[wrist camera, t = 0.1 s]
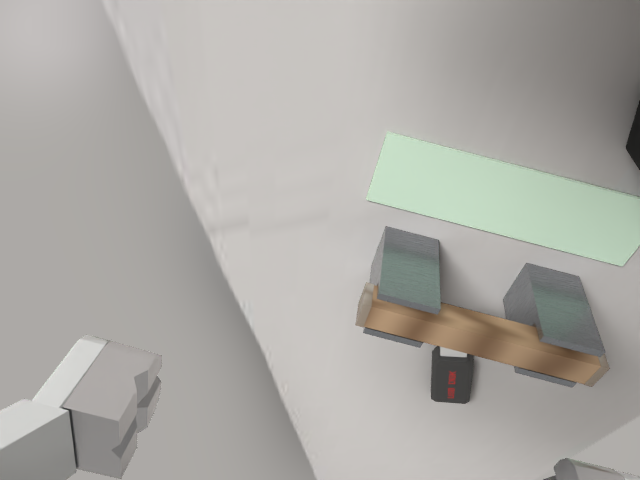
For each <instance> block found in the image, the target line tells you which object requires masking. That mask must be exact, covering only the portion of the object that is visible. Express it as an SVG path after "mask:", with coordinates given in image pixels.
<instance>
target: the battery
mask: <svg viewBox="0 0 640 480" xmlns="http://www.w3.org/2000/svg"><path fill="white" fill-rule="evenodd" d="M626 149H627V151H628V153H629V154H630V156H631V157H632V159H633V160H634V162H635V163H636V165H637V167H638V168H639V170H640V101H639V104H638V108H637V111H636V115H635V118H634V121H633V125H632V128H631V131H630V135H629V138H628V141H627V145H626Z"/></svg>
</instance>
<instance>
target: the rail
mask: <svg viewBox="0 0 640 480" xmlns="http://www.w3.org/2000/svg"><path fill="white" fill-rule="evenodd" d="M377 291H378V286H376V285H374V284H371V283H367V282H366V284H365V287H364V290H363V292H362V295H361V298H360V301H359V304H358V311H357V318H356V325H357V326H360V327H367V328H371V329H375V330H379V331H382V332H386V333H390V334H394V335H398V336H402V337H405V338H409V339H413V340H417V341H421V342H425V343H428V344H432V345H436V346H440V347H444V348H448V349H451V350H455V351H459V352H463V353H467V354H471V355H475V356H478V357H482V358H486V359H490V360H494V361H498V362H501V363H505V364H509V365H513V366H517V367H521V368H524V369H528V370H532V371H536V372H540V373H544V374H547V375H551V376H555V377H559V378H563V379H567V380H570V381H574V382H578V383H582V384H584V385H587V386H591V387H592V386H593V385H594V384H595V383H596V382H597V381H598V380H599V379H600V378H601V377H602V376H603V375H604V374H605V373H606V372H607V371H608V370H609V369H610V368H609V366H608V363H607V360H606V357H605V354H603V355H602V356H601V357H598V356H594V355H590V354H586V353H583V352H579V351H575V350H571V349H567V348H563V347H560V346H556V345H552V344H548V343H544V342H540V341H539V337H538V332H537V328H536V327H533V326H529V325H526V324H522V323H518V322H514V321H510V320H506V319H503V318H499V317H495V316H491V315H487V314H483V313H480V312H476V311H472V310H468V309H464V308H460V307H456V306H453V305H449V304H445V303H441V302H440V304H441V310H440V311H439V313H438V315H437V314H433V313H429V312H425V311H421V310H418V309H414V308H410V307H406V306H402V305H398V304H395V303H391V302H387V301H383V300H379V299H377Z"/></svg>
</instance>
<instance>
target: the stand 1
mask: <svg viewBox="0 0 640 480" xmlns="http://www.w3.org/2000/svg"><path fill="white" fill-rule="evenodd" d="M370 283H371V284H374V285H376V286H378V291H377V299H379V300H383V301H387V302H391V303H395V304H398V305H402V306H406V307H410V308H414V309H418V310H421V311H425V312H429V313H433V314H437V315H438V313H439V311H440V310H441V304H440V272H439V240H437V239H433V238H429V237H425V236H421V235H417V234H414V233H410V232H406V231H402V230H398V229H394V228H391V227H387V226H386V227H385V230H384V233H383V235H382V238H381V241H380V244H379V246H378V249H377V252H376V255H375V257H374V260H373V263H372V267H371V275H370ZM363 333H365V334H369V335H373V336H377V337H381V338H385V339H388V340H392V341H396V342H400V343H404V344H408V345H411V346H415V347H419V348H420V347H421V345H422V343H423V342H421V341H417V340H413V339H409V338H405V337H402V336H398V335H394V334H390V333H386V332H382V331H379V330H375V329H371V328H367V327H364V330H363Z"/></svg>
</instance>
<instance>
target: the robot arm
mask: <svg viewBox="0 0 640 480" xmlns="http://www.w3.org/2000/svg"><path fill="white" fill-rule="evenodd" d="M161 367H162V356H161V355H159V354H155V353H152V352H148V351H145V350H142V349H138V348H134V347H131V346H127V345H124V344H120V343H117V342H113V341H110V340H106V339H102V338H99V337H95V336H91V335H87V334H86V335H85V336H83V337H82V338H80V339H79V340H78V341H77V342H76V344H75V345H74V346H73V348H72V349H71V350H70V352H69V353H68V354H67V355H66V357H65V358H64V359H63V361H62V362H61V363H60V364H59V366H58V367H57V368H56V370H55V371H54V372H53V374H52V375H51V376H50V377H49V379H48V380H47V381H46V383H45V384H44V385H43V387H42V388H41V389H40V390H39V392H38V393H37V394H36V396H35V397H34V398H33V400H27V399H22V400H21V401H18V402H16V403H15V404H13V405H11V406H9V407H7V408H5V409H3V410H1V411H0V480H67V479H68V478H69V477H70V476H72V475H73V474H74V473H76V471H77V470H76V469H79V470H83V471H88V472H93V473H97V474H101V475H105V476H110V477H114V478H119V479H121V478H122V476H123V474H124V472H125V470H126V468H127V466H128V464H129V462H130V460H131V458H132V457H133V455H134V453H135V450H136V449H137V433H139V432H141V431H142V430H144V429H145V428H147V427H148V424H149V423H150V420H151V418H152V416H153V414H154V411H155V409H156V406H157V403H158V400H159V395H160V390H161V380H160V379H159V378H158V376H157V374H158V373H159V371H160V369H161ZM554 470H555V474H556V475H555V476H552V477H549V478H546V479H544V480H640V477H639V476H635V475H632V474H628V473H624V472H619V471H615V470H614V469H610V468H606V467H602V466H598V465H594V464H589V463H585V462H581V461H577V460H573V459H569V458H565V459H562V460H559V462H558V463H557V464H556V465H555V466H554Z"/></svg>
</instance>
